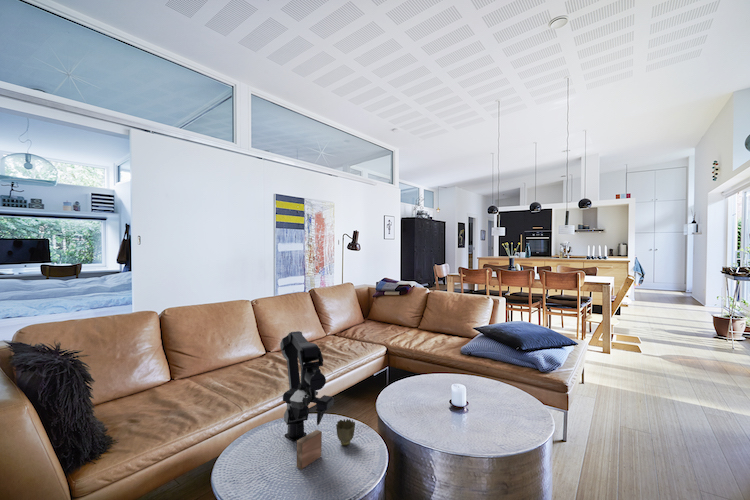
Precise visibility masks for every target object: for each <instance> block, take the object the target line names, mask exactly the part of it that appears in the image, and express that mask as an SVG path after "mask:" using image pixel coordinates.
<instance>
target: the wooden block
mask: <svg viewBox="0 0 750 500" xmlns="http://www.w3.org/2000/svg"><path fill="white" fill-rule="evenodd" d="M322 432H323V431H322V430H319V429H315V430H313V431H312V432H310V433H308V434H306V435H305V436H303V437H302V438H300V439H298V440H296V465H295V466H296V468H297V469H299V470H300V471H302V470H303V469H305V468H306V467H307V466H309V465H310V464H312V463H314V462H315V461H317V460H318V459H319V458H321V457H322V447H323V446H322V443H323V442H322V440H323V439H322V438H323V437H322V436H323V435H322V434H323V433H322Z"/></svg>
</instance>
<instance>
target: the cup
mask: <svg viewBox="0 0 750 500" xmlns="http://www.w3.org/2000/svg"><path fill="white" fill-rule="evenodd" d="M335 425H336V435H337V439H338V440H339V441H340V445H341V446H344V447H347V446H349V445H350V444H351V441H352V440H353V439H354V435H355V429H356V422H355V421H354V420H351V418H350V419H348V418H346V419H345V418H344V419H340V420H338V421H337V424H335Z"/></svg>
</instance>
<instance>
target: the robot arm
mask: <svg viewBox="0 0 750 500" xmlns="http://www.w3.org/2000/svg"><path fill="white" fill-rule="evenodd" d="M279 348H280V351H281V354H282V357H283V358H284V359H285V361H286V366H287V367H286V368H287V376H288V377H287V378H288V387H289V389H288V390H286V391H284V393H283V395H282V401H283V402H285V404H286V409H285V412H284V413H283V420H284V422H285V424H286V426H287V433H285V434H284V435H283V436H284V437H285V438H287V439H289V440H291V441H292V442H297V440H299V439H301V438H303V437H305V436H306V435H308V434H307V432H305V424H304V423H305V421H308V419H309V412H310V407H309V405H310V404H311V403H313V404H315V405H316V406H315V407H316V409H315V411H316V412H317V413H316V425H317V426H319V425H320V424H321V422H322V419H323V417H324V414H325V413H326V411H328V410H329V409H330V408H331V407H332V406H333V405H334V402H335V401H334V397H333V396H330V395H325V394H324V395H322V396H320V397H317V396H318V394H319V392H318V391H319V390H322V389H323V388H324V387H325V385H326V383H327V382H326V381H327V378H326V376H325V374H324V373H322V371H321V368H320V367H323V366H324V364H323V363H324V358H323V353H322V350H321V348H320V347H319V345H318V344H316V343H314V342H309V341H308V340H307V339H306V337H305V336H304V335H303V332H302V331H291V332H289V333H288V334H287V335H286V336H284V337H282V339H281V341H280V343H279ZM299 366H300V368H299Z"/></svg>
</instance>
